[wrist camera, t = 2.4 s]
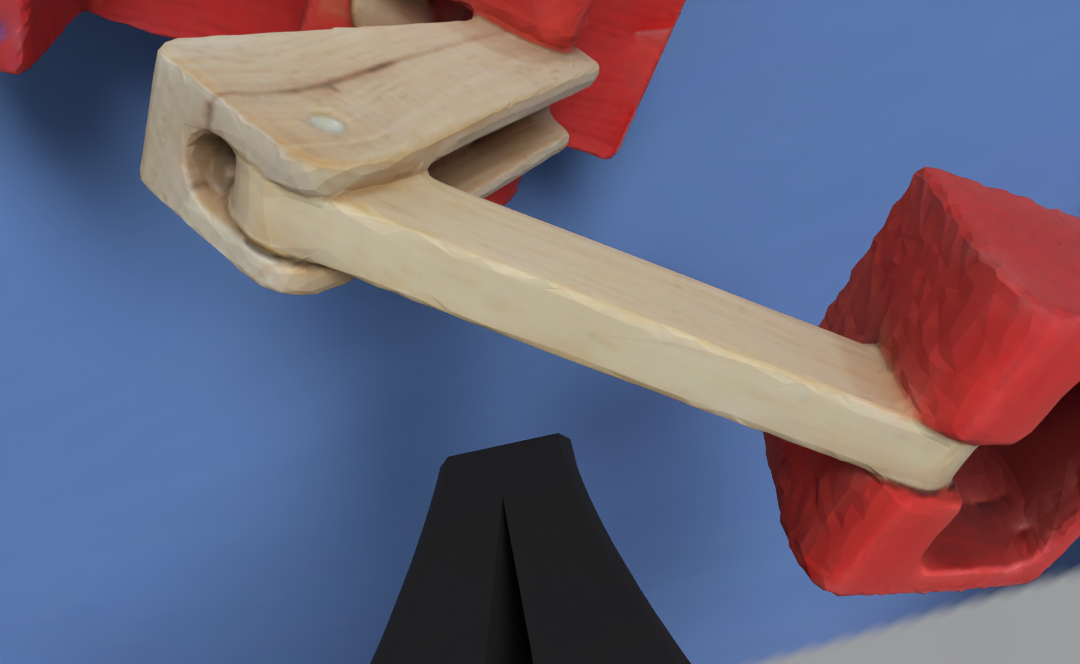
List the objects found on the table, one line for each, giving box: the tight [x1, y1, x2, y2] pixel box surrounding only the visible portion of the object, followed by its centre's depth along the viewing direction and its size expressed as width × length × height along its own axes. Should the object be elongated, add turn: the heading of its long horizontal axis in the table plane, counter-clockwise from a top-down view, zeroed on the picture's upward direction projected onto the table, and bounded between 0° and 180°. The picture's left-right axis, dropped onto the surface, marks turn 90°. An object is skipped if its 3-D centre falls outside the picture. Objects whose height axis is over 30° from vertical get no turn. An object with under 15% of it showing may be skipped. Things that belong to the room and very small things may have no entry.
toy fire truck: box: [0, 0, 1080, 596], centre depth 10 cm, size 3×14×10 cm, turn 71°
